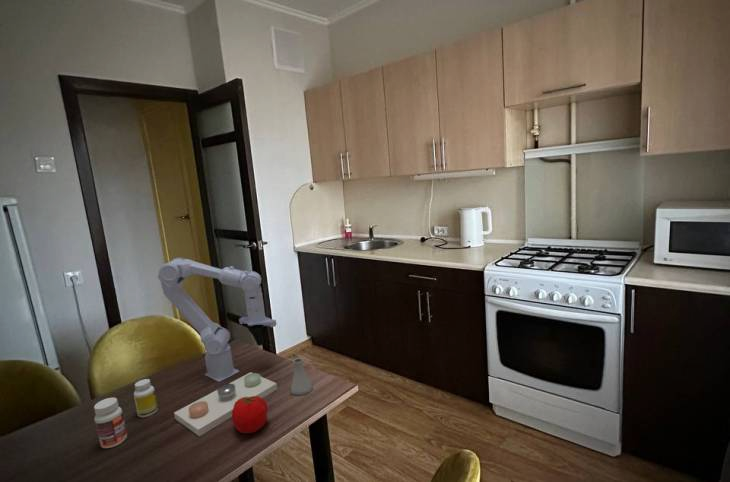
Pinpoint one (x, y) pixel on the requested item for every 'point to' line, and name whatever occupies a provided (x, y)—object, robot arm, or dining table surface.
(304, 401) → the dining table surface
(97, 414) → the pill bottle
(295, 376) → the flask
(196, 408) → the terracotta button
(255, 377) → the sage button
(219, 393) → the grey button
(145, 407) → the supplement bottle
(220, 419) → the control panel
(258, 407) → the tomato
